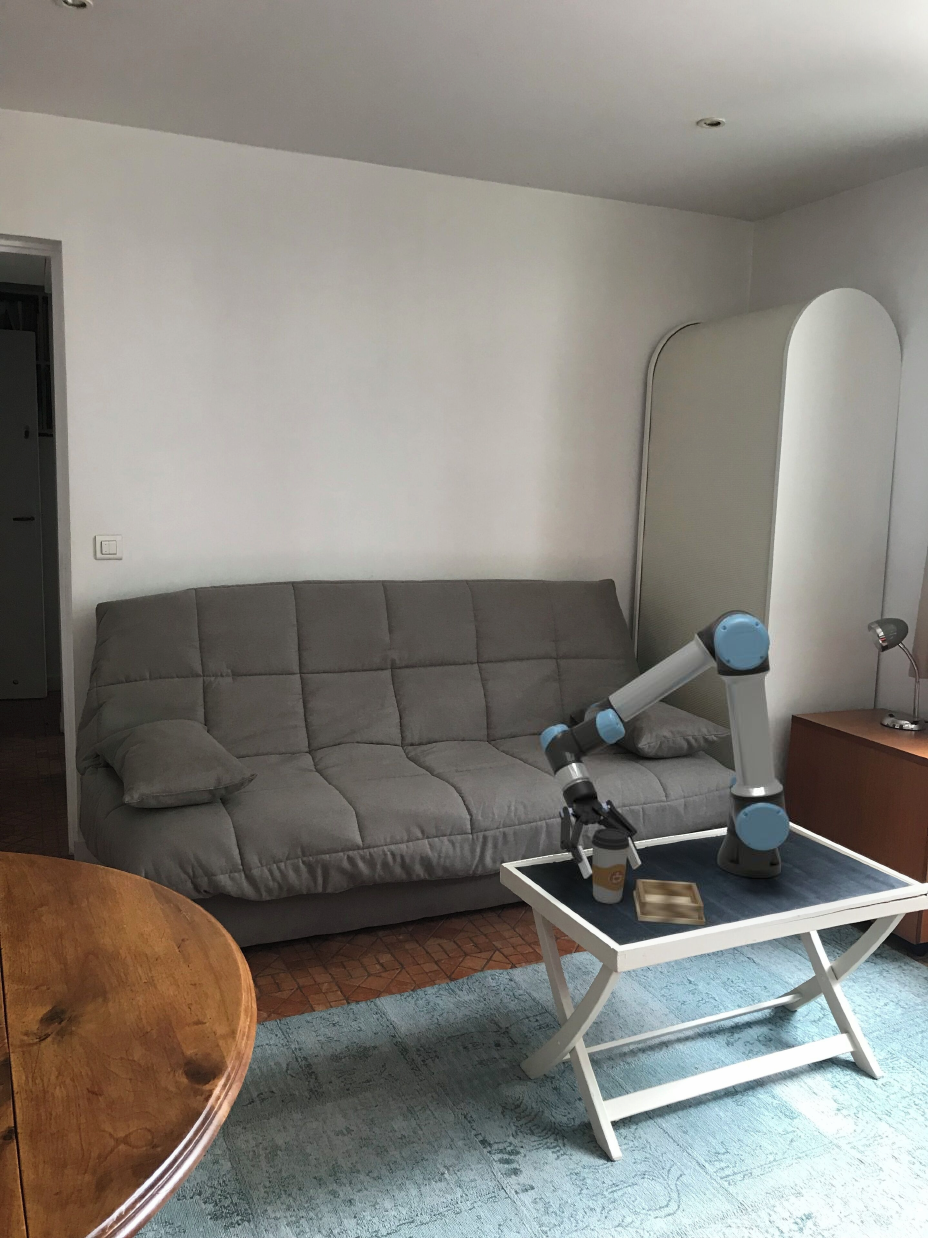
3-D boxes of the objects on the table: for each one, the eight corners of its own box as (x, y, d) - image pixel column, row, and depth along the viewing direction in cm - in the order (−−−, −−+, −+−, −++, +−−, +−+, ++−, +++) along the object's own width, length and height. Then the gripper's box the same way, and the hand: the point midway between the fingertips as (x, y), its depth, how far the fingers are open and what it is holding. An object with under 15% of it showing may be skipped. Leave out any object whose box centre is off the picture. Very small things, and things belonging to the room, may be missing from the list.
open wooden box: (695, 899, 224) (697, 882, 224) (705, 925, 210) (706, 907, 210) (633, 895, 225) (634, 878, 225) (638, 920, 212) (639, 902, 211)
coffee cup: (601, 908, 218) (604, 842, 216) (581, 893, 225) (585, 829, 223) (633, 903, 221) (637, 838, 219) (613, 889, 228) (616, 826, 227)
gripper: (611, 789, 240) (648, 870, 229) (525, 801, 228) (559, 887, 217) (626, 773, 235) (665, 855, 224) (539, 785, 223) (575, 872, 212)
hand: (613, 871), depth 221 cm, fingers open, 13 cm apart
